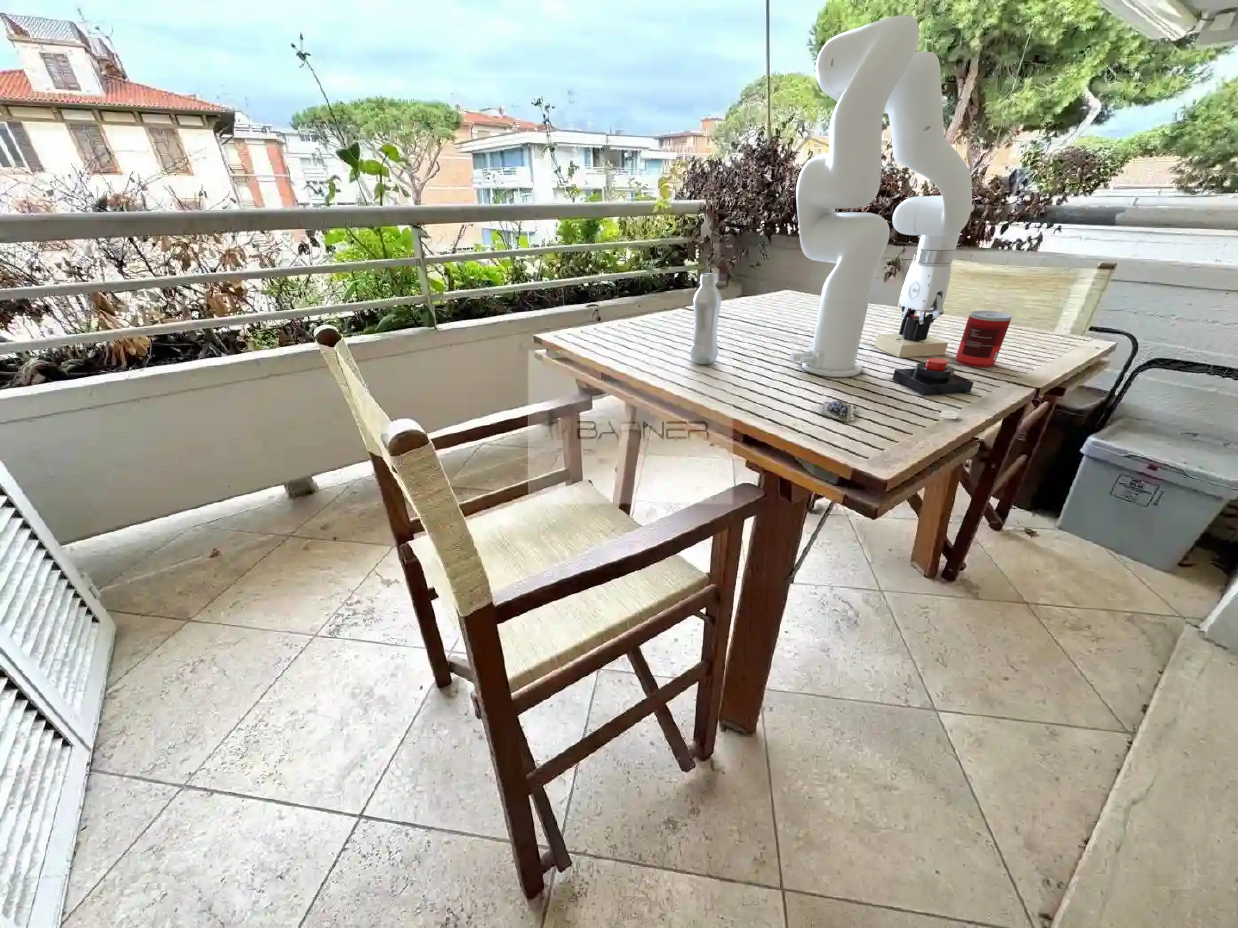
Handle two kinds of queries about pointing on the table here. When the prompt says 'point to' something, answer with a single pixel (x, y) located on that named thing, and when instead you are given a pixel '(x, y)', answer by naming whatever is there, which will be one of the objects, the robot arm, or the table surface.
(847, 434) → the table surface
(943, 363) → the button
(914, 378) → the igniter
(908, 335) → the knob
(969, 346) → the canned food
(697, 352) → the plastic bottle
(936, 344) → the beige flat block
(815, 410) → the table surface
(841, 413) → the blueberries
